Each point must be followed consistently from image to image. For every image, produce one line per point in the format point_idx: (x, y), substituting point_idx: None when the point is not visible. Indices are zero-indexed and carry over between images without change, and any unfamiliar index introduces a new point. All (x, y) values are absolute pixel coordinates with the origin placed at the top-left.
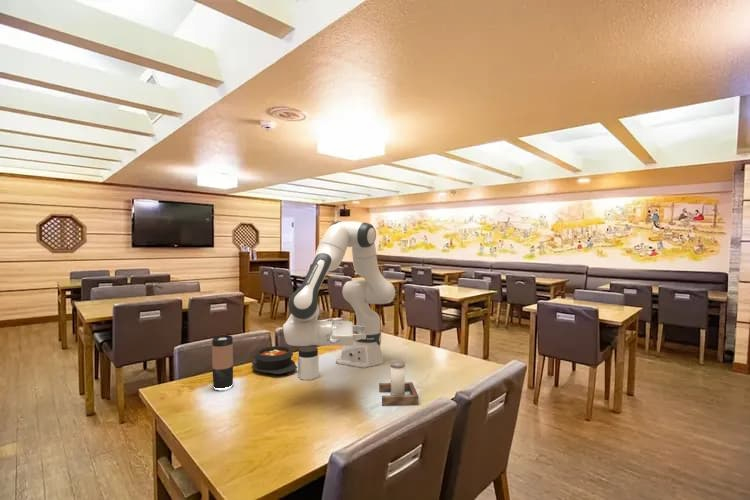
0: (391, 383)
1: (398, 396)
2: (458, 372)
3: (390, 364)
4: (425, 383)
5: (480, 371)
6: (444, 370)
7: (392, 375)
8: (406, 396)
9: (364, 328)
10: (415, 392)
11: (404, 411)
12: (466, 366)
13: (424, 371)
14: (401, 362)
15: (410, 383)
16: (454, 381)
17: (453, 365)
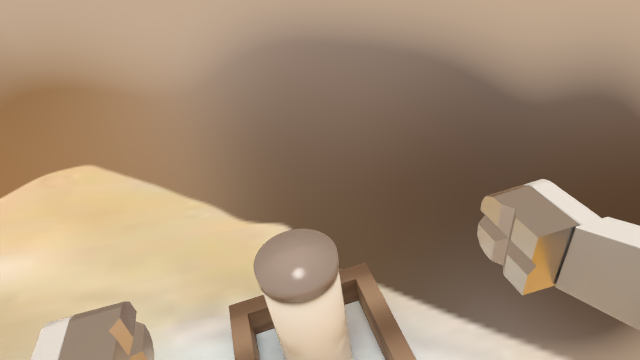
0: (333, 350)
1: (393, 326)
2: (95, 222)
3: (307, 295)
4: (175, 293)
5: (103, 183)
6: (63, 256)
7: (335, 316)
8: (381, 298)
9: (135, 314)
10: None
11: (440, 315)
12: (50, 211)
13: (47, 315)
14: (284, 244)
15: (244, 309)
16: (167, 223)
17: (25, 240)
